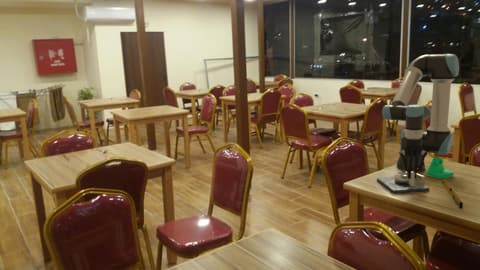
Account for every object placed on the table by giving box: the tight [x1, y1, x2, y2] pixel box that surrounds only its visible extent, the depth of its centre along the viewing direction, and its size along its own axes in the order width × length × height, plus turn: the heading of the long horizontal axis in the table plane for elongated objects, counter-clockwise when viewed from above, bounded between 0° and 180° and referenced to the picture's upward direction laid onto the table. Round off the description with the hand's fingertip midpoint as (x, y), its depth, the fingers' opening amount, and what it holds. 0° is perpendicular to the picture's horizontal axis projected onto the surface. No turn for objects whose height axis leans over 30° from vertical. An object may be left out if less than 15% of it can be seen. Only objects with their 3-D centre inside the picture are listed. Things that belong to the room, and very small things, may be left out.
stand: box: [376, 171, 431, 195], centre depth 199 cm, size 19×20×5 cm
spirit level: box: [441, 178, 464, 209], centre depth 185 cm, size 33×1×3 cm, turn 165°
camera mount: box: [426, 156, 455, 180], centre depth 210 cm, size 12×8×10 cm, turn 114°
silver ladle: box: [394, 173, 426, 188], centre depth 195 cm, size 17×8×6 cm, turn 21°
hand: (411, 184), depth 191 cm, fingers closed
